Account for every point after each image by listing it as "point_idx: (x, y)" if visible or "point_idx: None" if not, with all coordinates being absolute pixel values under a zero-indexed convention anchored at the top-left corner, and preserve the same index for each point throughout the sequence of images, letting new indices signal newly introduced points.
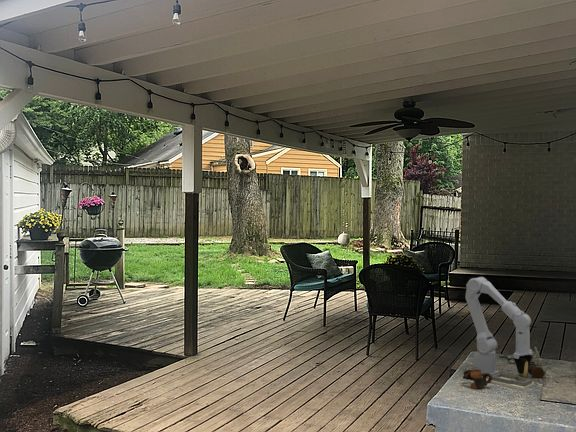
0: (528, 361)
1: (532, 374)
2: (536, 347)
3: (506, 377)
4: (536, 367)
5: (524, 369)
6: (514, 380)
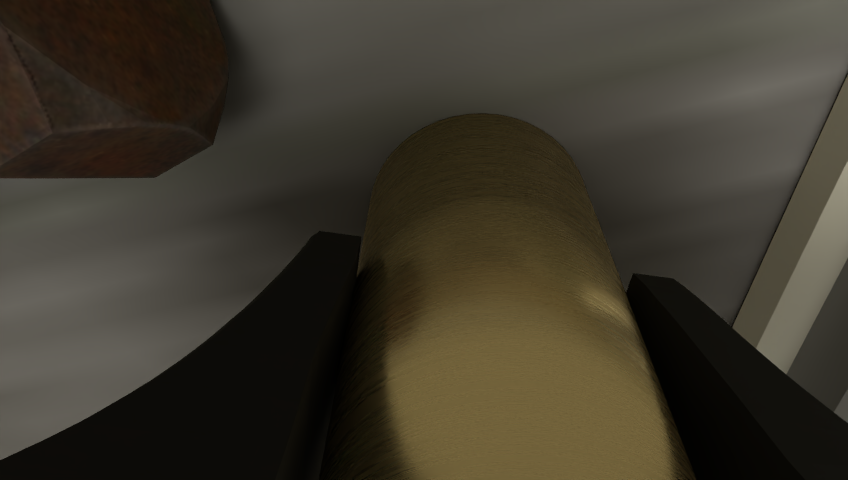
0: (289, 467)
1: (224, 92)
2: None
3: None
4: (30, 54)
5: (635, 326)
6: None
